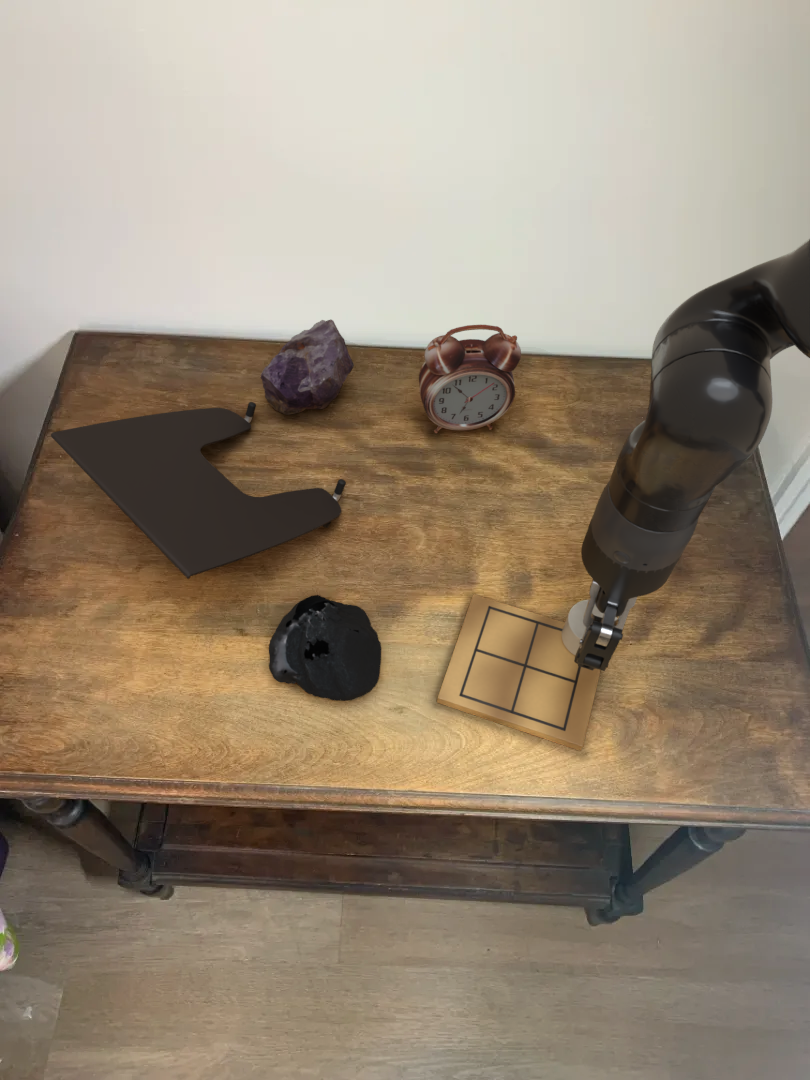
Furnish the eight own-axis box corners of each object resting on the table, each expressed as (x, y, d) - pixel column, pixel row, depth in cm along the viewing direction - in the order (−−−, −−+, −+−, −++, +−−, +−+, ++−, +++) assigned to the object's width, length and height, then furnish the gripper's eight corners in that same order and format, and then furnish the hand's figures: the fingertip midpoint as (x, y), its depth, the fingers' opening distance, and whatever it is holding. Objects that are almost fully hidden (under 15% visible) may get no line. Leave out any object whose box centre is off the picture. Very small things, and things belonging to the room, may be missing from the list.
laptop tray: (342, 562, 92) (368, 499, 87) (174, 632, 75) (194, 559, 70) (219, 448, 101) (235, 385, 96) (43, 488, 84) (52, 414, 79)
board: (605, 641, 81) (608, 635, 80) (580, 751, 75) (583, 746, 74) (472, 599, 84) (473, 592, 82) (436, 702, 77) (437, 697, 76)
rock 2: (320, 663, 85) (405, 665, 81) (268, 707, 77) (360, 712, 72) (302, 580, 83) (388, 578, 79) (246, 616, 75) (340, 616, 70)
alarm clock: (420, 440, 95) (427, 344, 83) (414, 410, 98) (420, 312, 85) (511, 433, 96) (531, 337, 84) (503, 403, 99) (521, 306, 86)
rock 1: (259, 406, 99) (321, 445, 96) (240, 360, 92) (307, 400, 88) (320, 344, 103) (382, 379, 99) (307, 295, 95) (374, 331, 92)
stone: (614, 624, 81) (622, 607, 78) (604, 665, 78) (613, 650, 76) (567, 609, 82) (574, 593, 79) (556, 650, 79) (563, 634, 76)
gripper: (673, 617, 60) (619, 703, 73) (699, 475, 67) (646, 576, 81) (573, 587, 61) (538, 677, 74) (610, 451, 69) (572, 554, 82)
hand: (594, 624), depth 78 cm, fingers open, 8 cm apart
